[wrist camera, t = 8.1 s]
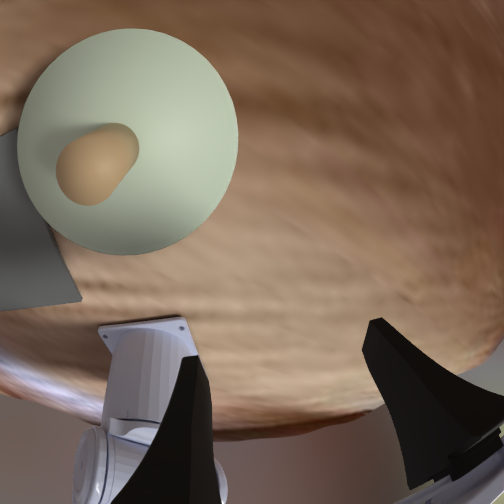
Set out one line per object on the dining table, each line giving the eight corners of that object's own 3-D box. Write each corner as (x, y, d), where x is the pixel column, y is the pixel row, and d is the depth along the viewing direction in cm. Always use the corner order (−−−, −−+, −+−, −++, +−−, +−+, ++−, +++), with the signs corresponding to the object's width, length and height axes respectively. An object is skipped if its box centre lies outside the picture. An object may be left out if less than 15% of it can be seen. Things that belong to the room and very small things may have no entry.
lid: (241, 235, 15) (254, 287, 12) (55, 257, 14) (26, 305, 11) (231, 17, 10) (243, -12, 6) (13, 70, 8) (-40, 77, 5)
